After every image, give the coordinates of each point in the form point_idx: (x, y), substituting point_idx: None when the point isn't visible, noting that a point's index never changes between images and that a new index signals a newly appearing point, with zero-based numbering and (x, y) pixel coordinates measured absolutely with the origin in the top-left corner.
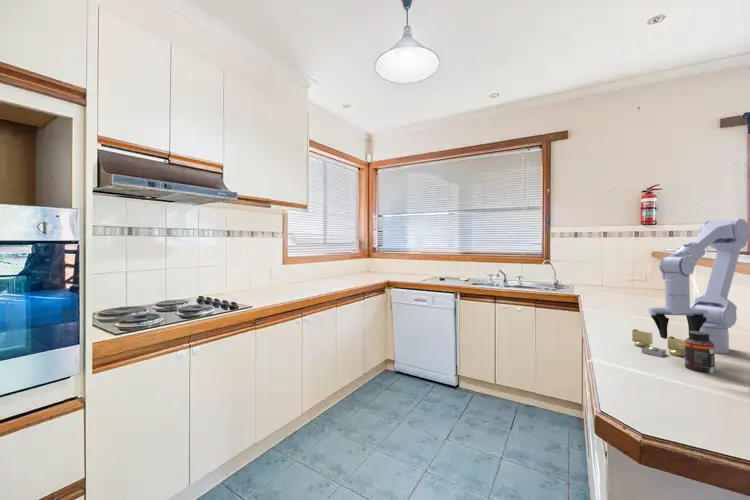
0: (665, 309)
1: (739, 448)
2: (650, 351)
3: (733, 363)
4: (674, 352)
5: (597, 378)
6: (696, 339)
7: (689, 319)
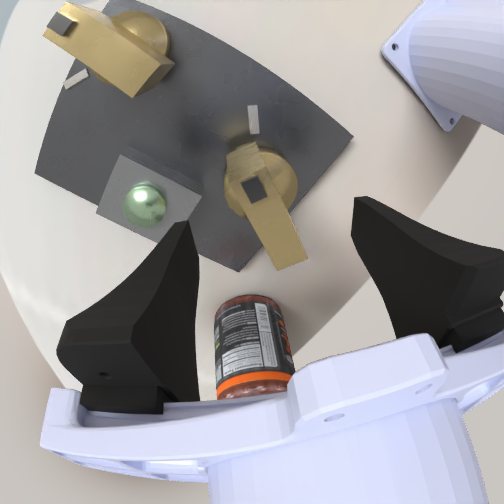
0: (194, 469)
1: None
2: (130, 226)
3: (424, 182)
4: (234, 210)
5: (55, 372)
6: None
7: (431, 288)
